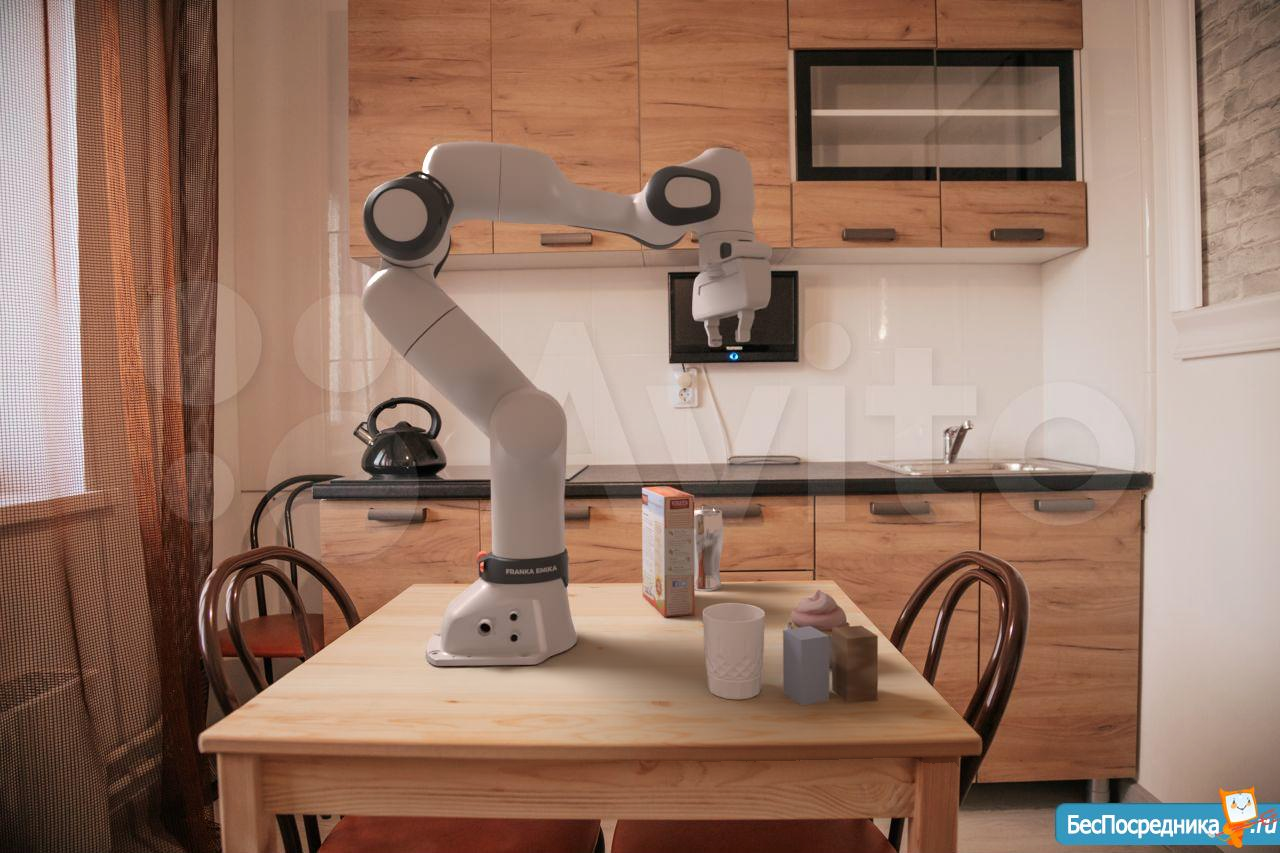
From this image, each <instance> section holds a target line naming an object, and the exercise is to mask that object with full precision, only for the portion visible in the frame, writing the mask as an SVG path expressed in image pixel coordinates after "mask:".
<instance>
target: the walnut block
mask: <svg viewBox="0 0 1280 853" xmlns="http://www.w3.org/2000/svg"><path fill="white" fill-rule="evenodd" d="M878 637H879V636H878V634H875V633H874V632H872V631H870V630H869V629H868V628H866V627H864V626H863V625H852V626H850V625H849V627H836V628H832V666H831V672H832V674H831V675H832V676H831V681H832V682H831V684H832V685H831V686H832V687H831V689H832V691H833V692H834V693H835V694H836V695H837V696H838V697H839V698H840V699H842V700H843V701H844V702H845V703H846V704H854V703H865V702H873V701H874V702H875V701H878V697H879V696H878V691H879V688H878V687H879V686H878V684H879V683H878V679H879V678H878V677H879V676H878V674H879V672H878V671H879V670H878V668H879V667H878V666H879V664H878V663H879V662H878V656H879V654H878V653H879V650H878V649H879V648H878V647H879V646H878V644H879V642H878V640H879V638H878Z"/></svg>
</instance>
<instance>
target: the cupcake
mask: <svg viewBox="0 0 1280 853" xmlns="http://www.w3.org/2000/svg"><path fill="white" fill-rule="evenodd" d="M846 615H847V614H846V612H845V610H843V608H842V607H841V606H839V605H838V604H837V601H836V600H835V599H834V598H833V597H832V596H831V595H829V594H828V593H825V592H823V591H821V590H820V589H816V590H815V591H814V593H813V595H812V596H811V597H806V598H804V599H801V601H799V602H798V605H797V606H796V608H795V609H793V610H792V611H791V614H790V621H788V622H786V623H785V625H786V627H787V629H793V628H800V627H807V626H811V627H813V628H815V629H817V630H819V631H821V632H823V633H825V634H827V635H829V667H832V628H836V627H849V626H850V622H847V616H846Z"/></svg>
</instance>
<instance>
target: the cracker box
mask: <svg viewBox="0 0 1280 853" xmlns="http://www.w3.org/2000/svg"><path fill="white" fill-rule="evenodd" d="M641 504H642V505H641V520H642V522H641V523H642V524H641V526H642V529H641V530H642V531H641V532H642V533H641V535H642V540H641V541H642V542H641V543H642V547H641V548H642V550H641V551H642V597H644V599H646V600H647V602H648V603H650V604H651V605H652V606H653V607H654V609H656V610H657V612H659V613H660V614H661V615H662V617H665V618H667V617H679V616H691V615H695V613H696V612H695V598H696V597H695V591H696V590H695V582H694V569H695V565H694V510H695V495H694V494H691V493H688V492H686V491H683V490H679V489H677V488H674V487H672V486H646V487H645V486H644V487H642V488H641Z"/></svg>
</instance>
